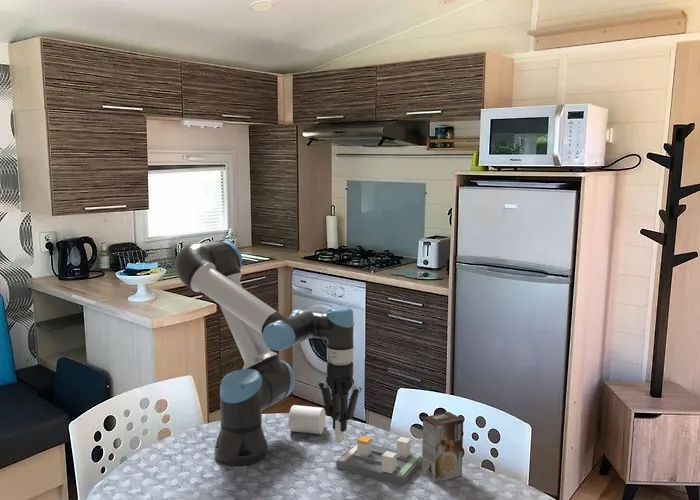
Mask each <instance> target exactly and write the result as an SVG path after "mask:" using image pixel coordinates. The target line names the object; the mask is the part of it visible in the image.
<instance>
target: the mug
mask: <svg viewBox="0 0 700 500" xmlns="http://www.w3.org/2000/svg"><path fill="white" fill-rule="evenodd" d="M287 423H288V429H289V431H290V432H296V433H306V434H315V435H321V434H323V432H324V429H325V425H326V409H325V407H318V406H307V405H298V404H293V405H292V406H291V407H290V410H289V415H288V422H287Z"/></svg>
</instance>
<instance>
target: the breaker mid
mask: <svg viewBox="0 0 700 500" xmlns="http://www.w3.org/2000/svg"><path fill="white" fill-rule="evenodd" d="M372 441H373V439H372V437H369V436H364V435H361V436H360V437H359V438H358V439H357V441H356V443H357V455H361V456H365V457H368V456H369V455H370V454H371V445H373V443H372Z"/></svg>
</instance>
